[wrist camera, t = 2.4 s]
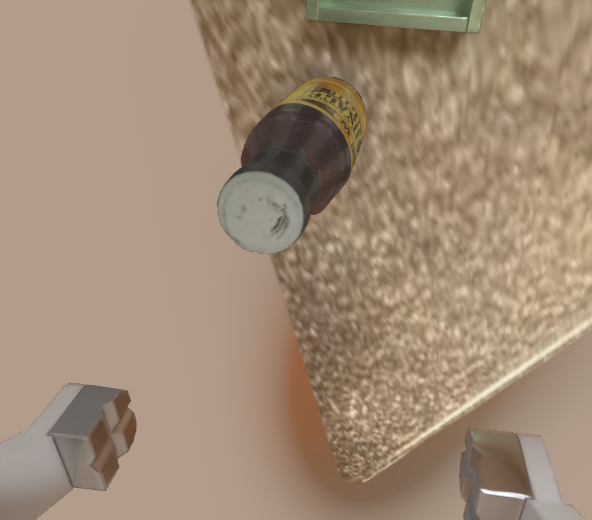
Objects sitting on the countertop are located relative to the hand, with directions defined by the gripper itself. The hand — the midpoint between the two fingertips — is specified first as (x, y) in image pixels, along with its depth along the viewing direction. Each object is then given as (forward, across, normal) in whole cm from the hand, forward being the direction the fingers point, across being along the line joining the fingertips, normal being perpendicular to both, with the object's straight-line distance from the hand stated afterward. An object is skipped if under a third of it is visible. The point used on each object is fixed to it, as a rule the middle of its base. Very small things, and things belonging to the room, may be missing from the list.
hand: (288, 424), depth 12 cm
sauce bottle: (+31, +3, 0) cm, 31 cm away
